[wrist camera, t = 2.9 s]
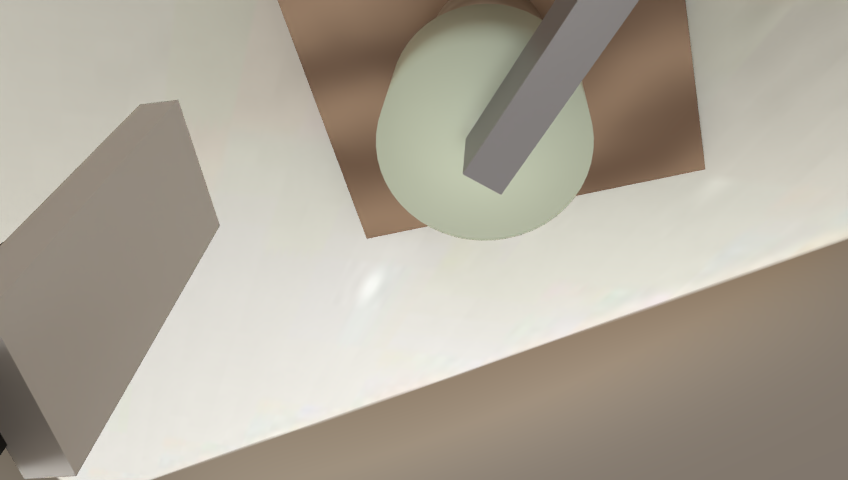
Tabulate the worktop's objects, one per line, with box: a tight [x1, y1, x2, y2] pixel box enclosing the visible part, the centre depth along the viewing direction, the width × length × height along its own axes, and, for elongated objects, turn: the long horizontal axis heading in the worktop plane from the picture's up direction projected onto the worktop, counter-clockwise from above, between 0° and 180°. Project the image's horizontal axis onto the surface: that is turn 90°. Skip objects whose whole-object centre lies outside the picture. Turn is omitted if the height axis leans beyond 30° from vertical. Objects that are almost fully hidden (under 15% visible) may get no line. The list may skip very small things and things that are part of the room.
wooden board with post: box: [278, 0, 705, 239], centre depth 39 cm, size 20×20×9 cm
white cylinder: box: [376, 0, 639, 240], centre depth 30 cm, size 14×8×8 cm, turn 151°
